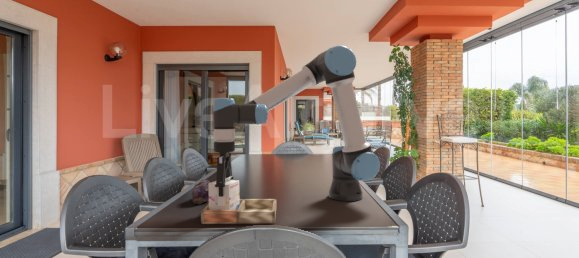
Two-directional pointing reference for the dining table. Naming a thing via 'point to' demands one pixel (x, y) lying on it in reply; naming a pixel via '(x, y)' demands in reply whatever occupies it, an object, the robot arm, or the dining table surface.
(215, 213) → the divided tray
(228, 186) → the ink box
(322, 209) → the dining table surface
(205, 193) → the rock
